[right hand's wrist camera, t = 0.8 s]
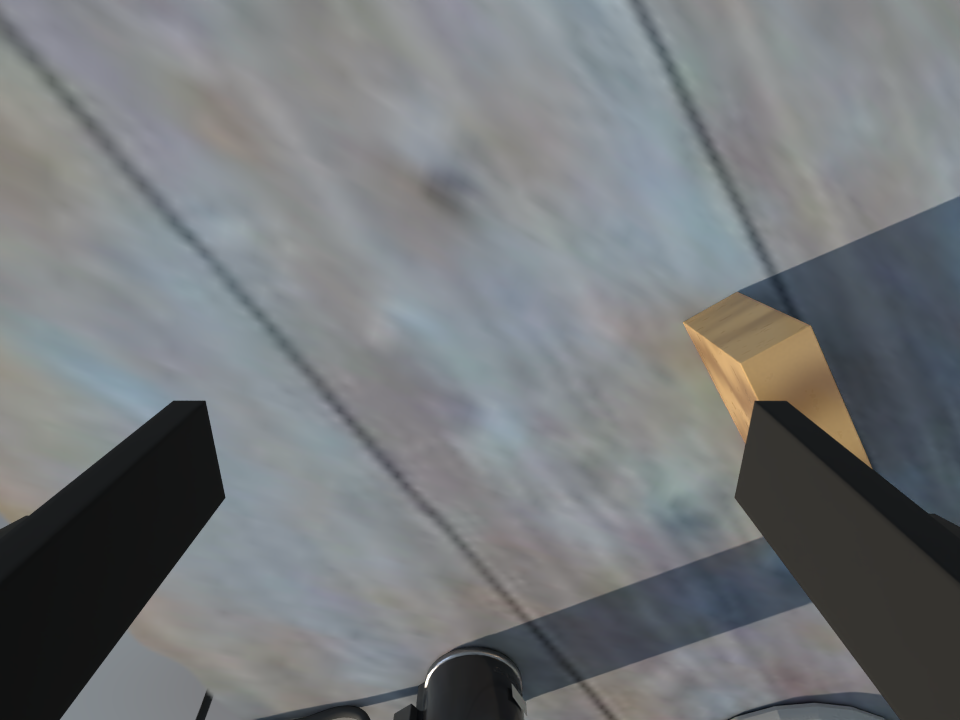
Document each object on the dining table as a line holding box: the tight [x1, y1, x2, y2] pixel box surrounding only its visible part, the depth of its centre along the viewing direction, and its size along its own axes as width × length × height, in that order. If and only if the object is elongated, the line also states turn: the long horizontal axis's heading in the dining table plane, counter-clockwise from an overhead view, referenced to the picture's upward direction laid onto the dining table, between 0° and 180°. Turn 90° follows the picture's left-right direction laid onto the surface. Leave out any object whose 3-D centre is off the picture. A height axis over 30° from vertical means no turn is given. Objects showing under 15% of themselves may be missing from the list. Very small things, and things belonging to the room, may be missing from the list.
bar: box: [683, 292, 873, 469], centre depth 38 cm, size 23×4×9 cm, turn 32°
